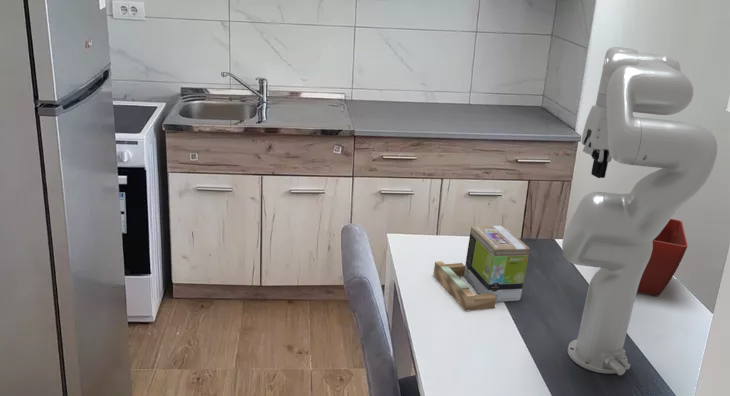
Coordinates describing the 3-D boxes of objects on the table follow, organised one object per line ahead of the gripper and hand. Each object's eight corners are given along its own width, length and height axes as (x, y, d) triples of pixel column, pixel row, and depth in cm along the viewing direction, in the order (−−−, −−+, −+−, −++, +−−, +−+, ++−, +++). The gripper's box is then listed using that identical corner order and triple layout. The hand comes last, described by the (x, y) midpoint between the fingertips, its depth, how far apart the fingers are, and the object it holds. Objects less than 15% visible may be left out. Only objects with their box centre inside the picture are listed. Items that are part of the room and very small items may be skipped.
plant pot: (595, 289, 186) (608, 231, 180) (597, 261, 203) (609, 207, 197) (672, 305, 181) (688, 246, 175) (667, 275, 198) (682, 220, 192)
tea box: (521, 301, 176) (531, 248, 171) (485, 303, 174) (493, 249, 168) (496, 273, 190) (504, 223, 185) (462, 275, 187) (469, 224, 182)
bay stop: (494, 307, 172) (497, 292, 170) (465, 311, 169) (467, 295, 168) (460, 272, 188) (462, 258, 187) (433, 275, 186) (435, 260, 184)
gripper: (628, 98, 169) (613, 170, 175) (576, 98, 164) (562, 172, 170) (650, 105, 162) (633, 180, 169) (596, 105, 157) (581, 182, 164)
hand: (597, 176), depth 170 cm, fingers closed
